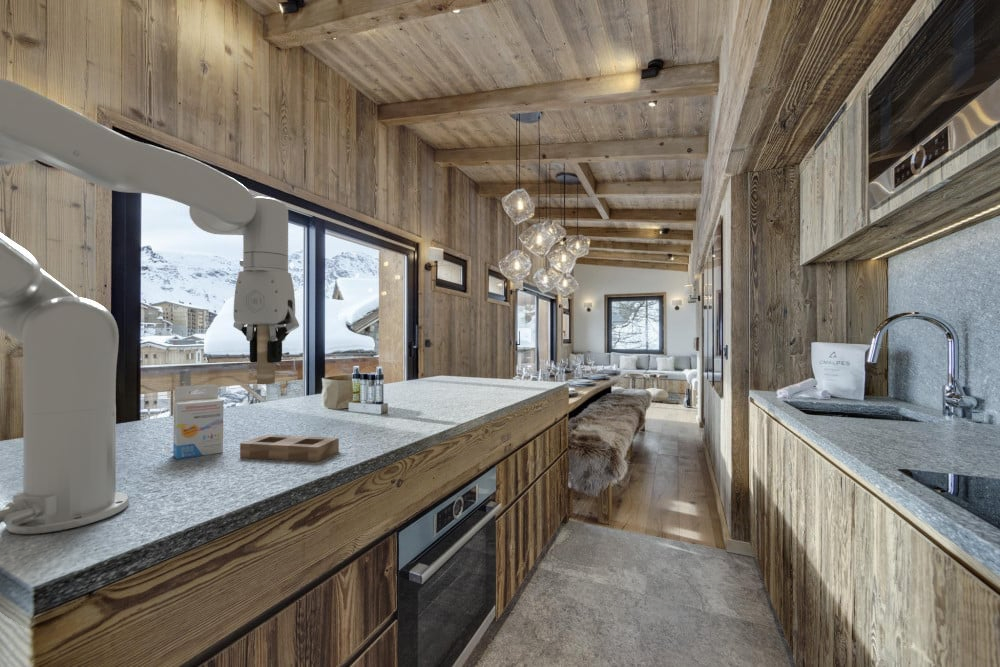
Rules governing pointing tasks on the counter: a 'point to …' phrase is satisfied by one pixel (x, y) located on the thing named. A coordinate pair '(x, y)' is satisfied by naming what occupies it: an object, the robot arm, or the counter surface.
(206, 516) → the counter surface
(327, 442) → the socket block
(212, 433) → the ink box
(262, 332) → the peg
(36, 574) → the counter surface
